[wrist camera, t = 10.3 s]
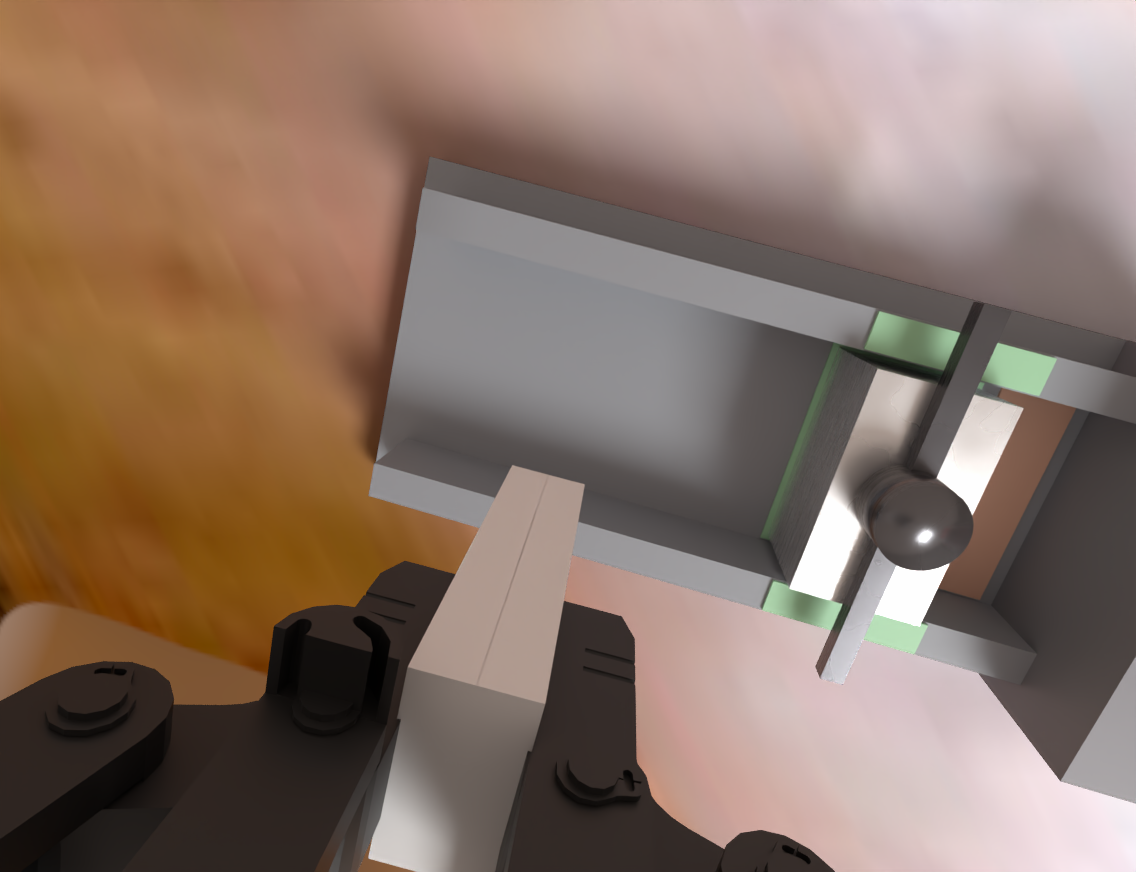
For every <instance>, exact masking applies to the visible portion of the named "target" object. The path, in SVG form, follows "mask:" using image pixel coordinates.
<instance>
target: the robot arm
mask: <svg viewBox="0 0 1136 872" xmlns="http://www.w3.org/2000/svg"><path fill="white" fill-rule="evenodd" d="M584 486H585V484H581V483H578V482H574V481H570V480H566V479H563V478H559V477H555V476H551V475H548V474H544V473H540V472H536V471H532V470H529V469H525V468H521V467H517V466H514V465H512V467H511V469H510V470H509V472H508V474H507V476H506V478H505V480H504V482H503V484H502V486H501V488H500V490H499V492H498V494H497V496H496V498H495V499H494V501H493V503H492V505H491V507H490V509H489V511H488V513H487V515H486V517H485V519H484V521H483V523H482V525H481V526H480V528H479V530H478V532H477V534H476V536H475V538H474V540H473V542H472V544H471V546H470V548H469V550H468V552H467V553H466V555H465V557H464V559H463V561H462V563H461V565H460V567H459V569H458V571H457V573H456V574H452V573H448V572H445V571H441V570H437V569H434V568H430V567H426V566H422V565H419V564H415V563H411V562H407V561H404V562H402V563H400V564H398V565H396V566H394V567H392V568H390V569H388V570H386V571H384V572H382V573H380V575H379V576H378V577H377V579H376V580H375V581H374V583H373V584H372V585H371V587H370V588H369V589H368V591H367V593H366V595H365V596H363V597H362V599H361V600H360V601H359V603H358V604H357V605H356V607H349V606H342V605H329V606H316V607H311V608H308V609H305V610H302V611H299V612H295V613H292V614H290V615H289V616H287V617H286V618H285V619H283V620H282V621H280V622H279V623H278V624H276V625H275V626H274V630H273V638H272V646H271V653H270V661H269V669H268V676H267V684H266V692H265V693H264V695H263V696H262V697H261V698H260V700H259V701H254V702H250V703H245V704H234V705H173V703H174V697H173V693H172V689H171V685H170V682H169V681H168V680H167V679H166V678H164V677H163V676H162V675H161V674H160V673H159V672H158V671H156V670H155V669H152V668H149V667H146V666H143V665H139V664H136V663H133V662H107V661H103V662H98V663H92V664H87V665H81V666H75V667H71V668H69V669H66V670H64V671H61V672H59V673H56V674H53V675H51V676H48V677H46V678H44V679H41V680H39V681H37V682H36V683H34V684H32V685H30V686H28V687H26V688H24V689H22V690H21V691H18V692H17V693H15V694H13V695H11V696H9V697H7V698H6V699H3V700H1V701H0V872H358V869H359V867H360V865H361V862H362V860H363V857H364V855H365V853H366V851H367V848H368V846H369V844H370V841H371V839H372V843H371V848H370V853H369V857H368V858H369V859H372V860H377V861H380V862H384V863H388V864H391V865H394V866H398V867H402V868H405V869H409V870H413V871H416V872H835V871H834V870H833V869H832V868H831V867H829V866H828V865H827V864H826V863H825V862H824V861H823V860H822V859H820V858H819V857H818V856H817V855H816V854H815V853H814V852H812V851H811V850H810V849H808V848H807V847H805V846H803V845H801V844H799V843H797V842H796V841H794V840H792V839H790V838H788V837H786V836H784V835H780V834H776V833H771V832H767V831H763V830H758V831H751V832H744V833H740V834H739V835H738V836H737V837H735V838H734V839H733V840H732V841H731V842H729V843H728V844H727V845H726V847H725V849H723V848H721V847H720V846H718V845H716V844H714V843H713V842H711V841H709V840H707V839H706V838H704V837H702V836H700V835H699V834H697V833H695V832H693V831H692V830H690V829H688V828H687V827H685V826H684V825H682V824H681V823H679V822H678V821H676V820H675V819H673V818H672V817H671V816H670V815H669V814H668V813H666V812H665V811H664V810H663V809H662V808H661V807H660V806H659V805H658V804H657V803H656V802H655V800H654V799H653V797H652V796H651V792H650V789H649V785H648V781H647V777H646V775H645V774H644V772H643V771H642V769H641V768H640V767H639V765H638V764H637V759H636V698H635V685H634V683H635V665H634V663H635V639H634V637H633V635H632V633H631V632H630V630H629V628H628V627H627V625H626V623H625V621H624V620H623V618H622V616H618V615H614V614H611V613H607V612H603V611H600V610H596V609H592V608H588V607H585V606H581V605H577V604H573V603H570V602H566V601H564V597H565V592H566V586H567V581H568V575H569V569H570V564H571V558H572V553H573V547H574V542H575V536H576V531H577V525H578V519H579V514H580V508H581V503H582V497H583V492H584ZM372 837H373V838H372Z"/></svg>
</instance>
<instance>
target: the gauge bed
mask: <svg viewBox="0 0 1136 872" xmlns="http://www.w3.org/2000/svg"><path fill="white" fill-rule="evenodd" d="M415 230H417V231H416V237H415V242H414V248H413V254H412V259H411V265H410V271H409V276H408V282H407V288H406V293H405V299H404V305H403V310H402V316H401V322H400V327H399V333H398V339H397V344H396V350H395V356H394V361H393V367H392V373H391V378H390V384H389V390H388V396H387V401H386V407H385V413H384V418H383V424H382V430H381V435H380V441H379V447H378V452H377V458H376V462H375V463H374V468H373V474H372V480H371V485H370V491H369V496H371V497H375V498H378V499H381V500H385V501H388V502H392V503H395V504H399V505H402V506H406V507H409V508H412V509H416V510H419V511H423V512H426V513H430V514H433V515H436V516H440V517H443V518H447V519H450V520H454V521H457V522H461V523H464V524H467V525H471V526H474V527H478V528H480V526H481V525H482V523H483V521H484V519H485V517H486V515H487V513H488V511H489V509H490V507H491V505H492V503H493V501H494V499H495V498H496V496H497V494H498V492H499V490H500V488H501V486H502V484H503V482H504V480H505V478H506V476H507V474H508V472H509V470H510V469H511V467H512V465H514V466H517V467H521V468H525V469H529V470H532V471H536V472H540V473H544V474H548V475H551V476H555V477H559V478H563V479H566V480H570V481H574V482H578V483H581V484H585V486H584V492H583V497H582V503H581V508H580V514H579V519H578V525H577V531H576V536H575V542H574V547H573V553H572V555H574V556H578V557H581V558H584V559H588V560H591V561H595V562H598V563H602V564H605V565H609V566H612V567H615V568H619V569H622V570H626V571H629V572H633V573H636V574H640V575H643V576H646V577H650V578H653V579H657V580H660V581H664V582H667V583H671V584H674V585H677V586H681V587H684V588H688V589H691V590H695V591H698V592H701V593H705V594H708V595H712V596H715V597H719V598H722V599H726V600H729V601H732V602H736V603H739V604H743V605H746V606H750V607H753V608H757V609H760V610H763V611H766V612H770V613H773V614H777V615H780V616H783V617H787V618H790V619H794V620H797V621H801V622H804V623H808V624H811V625H814V626H818V627H821V628H825V629H828V630H832V627H833V625H834V623H835V620H836V618H837V616H838V613H839V611H840V609H841V607H842V604H841V603H837V602H834V601H830V600H827V599H823V598H820V597H816V596H813V595H809V594H806V593H802V592H799V591H795V590H792V589H789V587H788V584H787V582H786V579H785V577H784V574H783V572H782V569H781V567H780V564H779V562H778V559H777V557H776V554H775V552H774V549H773V546H772V544H771V541H770V539H769V536H768V532H769V529H770V527H771V524H772V521H773V519H774V516H775V514H776V511H777V508H778V506H779V503H780V500H781V498H782V495H783V492H784V490H785V487H786V485H787V482H788V479H789V477H790V474H791V471H792V469H793V466H794V464H795V461H796V458H797V456H798V453H799V450H800V448H801V445H802V443H803V440H804V437H805V435H806V432H807V429H808V427H809V424H810V422H811V419H812V416H813V414H814V411H815V408H816V406H817V403H818V400H819V398H820V395H821V393H822V390H823V387H824V385H825V382H826V379H827V377H828V374H829V372H830V369H831V366H832V364H833V361H834V358H835V356H836V353H837V351H838V348H843V349H846V350H850V351H854V352H857V353H861V354H865V355H869V356H872V357H876V358H880V359H883V360H887V361H891V362H895V363H898V364H902V365H906V366H909V367H913V368H917V369H920V370H924V371H928V372H932V373H935V374H939V375H942V374H943V371H944V369H945V367H946V364H947V362H948V360H949V357H950V355H951V353H952V351H953V348H954V346H955V344H956V341H957V339H958V337H959V334H960V332H961V330H962V327H963V325H964V323H965V321H966V318H967V316H968V314H969V311H970V309H971V307H972V304H973V302H979V301H975V300H971V299H968V298H964V297H960V296H956V295H953V294H949V293H945V292H941V291H937V290H934V289H930V288H926V287H922V286H918V285H915V284H911V283H907V282H903V281H900V280H896V279H892V278H888V277H884V276H881V275H877V274H873V273H869V272H865V271H862V270H858V269H854V268H850V267H847V266H843V265H839V264H835V263H831V262H828V261H824V260H820V259H816V258H812V257H809V256H805V255H801V254H797V253H794V252H790V251H786V250H782V249H778V248H775V247H771V246H767V245H763V244H759V243H756V242H752V241H748V240H744V239H741V238H737V237H733V236H729V235H725V234H722V233H718V232H714V231H710V230H706V229H703V228H699V227H695V226H691V225H688V224H684V223H680V222H676V221H672V220H669V219H665V218H661V217H657V216H653V215H650V214H646V213H642V212H638V211H635V210H631V209H627V208H623V207H619V206H616V205H612V204H608V203H604V202H600V201H597V200H593V199H589V198H585V197H582V196H578V195H574V194H570V193H566V192H563V191H559V190H555V189H551V188H547V187H544V186H540V185H536V184H532V183H529V182H525V181H521V180H517V179H513V178H510V177H506V176H502V175H498V174H494V173H491V172H487V171H483V170H479V169H476V168H472V167H468V166H464V165H460V164H457V163H453V162H449V161H445V160H441V159H438V158H434V157H429V163H428V168H427V174H426V180H425V185H424V188H423V189H422V195H421V201H420V206H419V212H418V218H417V224H416V229H415ZM980 303H983V302H980ZM985 304H987V303H985ZM989 305H990V304H989ZM993 306H994V305H993ZM996 307H998V306H996ZM1000 308H1002V307H1000ZM1004 309H1006V308H1004ZM1008 310H1009V309H1008ZM977 388H979V389H981V390H983V391H985V392H988V393H990V394H992V395H995V396H997V397H999V398H1001V399H1004V400H1006V401H1008V402H1011V403H1013V404H1015V405H1017V406H1020V407H1022V408H1024V409H1023V411H1022V413H1021V415H1020V417H1019V419H1018V421H1017V423H1016V425H1015V428H1014V430H1013V432H1012V434H1011V436H1010V438H1009V440H1008V442H1007V444H1006V446H1005V448H1004V450H1003V453H1002V455H1001V457H1000V459H999V461H998V463H997V465H996V467H995V469H994V471H993V473H992V476H991V478H990V480H989V482H988V484H987V486H986V488H985V490H984V492H983V494H982V496H981V498H980V501H979V503H978V505H977V507H976V509H975V511H974V513H973V515H972V517H973V524H974V527H973V534H972V537H971V540H970V542H969V544H968V546H967V547H966V549H965V550H964V551H963V553H962V554H961V555H960V556H959V557H957V558H956V559H955V560H954V561H952V562H951V563H949V565H948V567H947V569H946V571H945V574H944V576H943V578H942V580H941V582H940V584H939V586H938V588H937V590H936V592H935V594H934V597H933V599H932V601H931V603H930V605H929V607H928V609H927V611H926V613H925V615H924V617H923V619H922V622H921V624H920V626H917V625H913V624H910V623H906V622H903V621H899V620H896V619H893V618H889V617H886V616H882V615H879V614H875V615H874V617H873V619H872V621H871V624H870V626H869V628H868V630H867V633H866V635H865V637H864V639H863V640H866V641H870V642H873V643H876V644H880V645H883V646H887V647H890V648H894V649H897V650H900V651H904V652H907V653H911V654H915V655H918V656H922V657H925V658H929V659H932V660H935V661H939V662H942V663H946V664H949V665H953V666H956V667H960V668H963V669H966V670H970V671H973V672H977V673H979V675H980V676H981V677H982V679H983V680H984V681H985V683H986V684H987V685H988V687H989V688H990V689H991V691H992V692H993V693H994V695H995V696H996V697H997V698H998V700H999V701H1000V702H1001V704H1002V705H1003V706H1004V708H1005V709H1006V710H1007V712H1008V713H1009V714H1010V716H1011V717H1012V718H1013V719H1014V721H1015V722H1016V723H1017V725H1018V726H1019V727H1020V729H1021V730H1022V731H1023V733H1024V734H1025V735H1026V737H1027V738H1028V739H1029V741H1030V742H1031V743H1032V744H1033V746H1034V747H1035V748H1036V750H1037V751H1038V752H1039V754H1040V755H1041V756H1042V758H1043V759H1044V760H1045V762H1046V763H1047V764H1048V765H1049V767H1050V768H1051V769H1052V771H1053V772H1054V773H1055V775H1056V776H1057V777H1058V779H1059V780H1060V781H1061V782H1065V783H1068V784H1072V785H1075V786H1078V787H1082V788H1085V789H1088V790H1092V791H1095V792H1099V793H1102V794H1105V795H1109V796H1112V797H1115V798H1119V799H1122V800H1126V801H1129V802H1132V803H1136V342H1132V341H1127V340H1123V339H1119V338H1115V337H1112V336H1108V335H1104V334H1100V333H1096V332H1093V331H1089V330H1085V329H1081V328H1077V327H1074V326H1070V325H1066V324H1062V323H1059V322H1055V321H1051V320H1047V319H1043V318H1040V317H1036V316H1032V315H1028V314H1024V313H1021V312H1017V311H1013V310H1012V312H1011V315H1010V317H1009V319H1008V321H1007V323H1006V326H1005V328H1004V330H1003V332H1002V334H1001V337H1000V339H999V341H998V343H997V345H996V348H995V350H994V352H993V354H992V356H991V359H990V361H989V363H988V365H987V368H986V370H985V372H984V374H983V376H982V379H981V381H980V383H979V385H978V387H977Z"/></svg>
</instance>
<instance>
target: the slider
mask: <svg viewBox="0 0 1136 872" xmlns="http://www.w3.org/2000/svg"><path fill="white" fill-rule="evenodd" d="M1011 312H1012V310H1008V309H1004V308H1000V307H996V306H993V305H989V304H985V303H980V302H973V304H972V307H971V309H970V311H969V314H968V316H967V318H966V321H965V323H964V325H963V327H962V330H961V332H960V334H959V337H958V339H957V341H956V344H955V346H954V348H953V351H952V353H951V355H950V357H949V360H948V362H947V364H946V367H945V369H944V371H943V374H942V375H939V374H935V373H932V372H928V371H924V370H920V369H917V368H913V367H909V366H906V365H902V364H898V363H895V362H891V361H887V360H883V359H880V358H876V357H872V356H869V355H865V354H861V353H857V352H854V351H850V350H846V349H843V348H838V351H837V353H836V356H835V358H834V361H833V364H832V366H831V369H830V372H829V374H828V377H827V379H826V382H825V385H824V387H823V390H822V393H821V395H820V398H819V400H818V403H817V406H816V408H815V411H814V414H813V416H812V419H811V422H810V424H809V427H808V429H807V432H806V435H805V437H804V440H803V443H802V445H801V448H800V450H799V453H798V456H797V458H796V461H795V464H794V466H793V469H792V471H791V474H790V477H789V479H788V482H787V485H786V487H785V490H784V492H783V495H782V498H781V500H780V503H779V506H778V508H777V511H776V514H775V516H774V519H773V521H772V524H771V527H770V529H769V532H768V536H769V539H770V541H771V544H772V546H773V549H774V552H775V554H776V557H777V559H778V562H779V564H780V567H781V569H782V572H783V574H784V577H785V579H786V582H787V584H788V587H789V589H792V590H795V591H799V592H802V593H806V594H809V595H813V596H816V597H820V598H823V599H827V600H830V601H834V602H837V603H841V604H842V607H841V609H840V611H839V613H838V616H837V618H836V620H835V623H834V625H833V627H832V630H831V632H830V634H829V637H828V639H827V641H826V643H825V646H824V648H823V650H822V653H821V655H820V657H819V660H818V662H817V664H816V669H817V672H818V674H819V677H820V679H824V680H827V681H830V682H834V683H837V684H841V685H843V683H844V681H845V679H846V677H847V674H848V672H849V670H850V668H851V666H852V663H853V661H854V659H855V657H856V655H857V652H858V650H859V648H860V646H861V644H862V641H863V639H864V637H865V635H866V633H867V630H868V628H869V626H870V624H871V621H872V619H873V617H874V615H875V614H879V615H882V616H886V617H889V618H893V619H896V620H899V621H903V622H906V623H910V624H913V625H917V626H920V624H921V622H922V619H923V617H924V615H925V613H926V611H927V609H928V607H929V605H930V603H931V601H932V599H933V597H934V594H935V592H936V590H937V588H938V586H939V584H940V582H941V580H942V578H943V576H944V574H945V571H946V569H947V567H948V565H949V563H951V562H952V561H954V560H955V559H956V558H957V557H959V556H960V555H961V554H962V553H963V551H964V550H965V549H966V547H967V546H968V544H969V542H970V540H971V537H972V534H973V527H974V524H973V517H972V515H973V513H974V511H975V509H976V507H977V505H978V503H979V501H980V498H981V496H982V494H983V492H984V490H985V488H986V486H987V484H988V482H989V480H990V478H991V476H992V473H993V471H994V469H995V467H996V465H997V463H998V461H999V459H1000V457H1001V455H1002V453H1003V450H1004V448H1005V446H1006V444H1007V442H1008V440H1009V438H1010V436H1011V434H1012V432H1013V430H1014V428H1015V425H1016V423H1017V421H1018V419H1019V417H1020V415H1021V413H1022V411H1023V409H1024V408H1022V407H1020V406H1017V405H1015V404H1013V403H1011V402H1008V401H1006V400H1004V399H1001V398H999V397H997V396H995V395H992V394H990V393H988V392H985V391H983V390H981V389H979V388H977V387H978V385H979V383H980V381H981V379H982V376H983V374H984V372H985V370H986V368H987V365H988V363H989V361H990V359H991V356H992V354H993V352H994V350H995V348H996V345H997V343H998V341H999V339H1000V337H1001V334H1002V332H1003V330H1004V328H1005V326H1006V323H1007V321H1008V319H1009V317H1010V315H1011Z"/></svg>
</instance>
